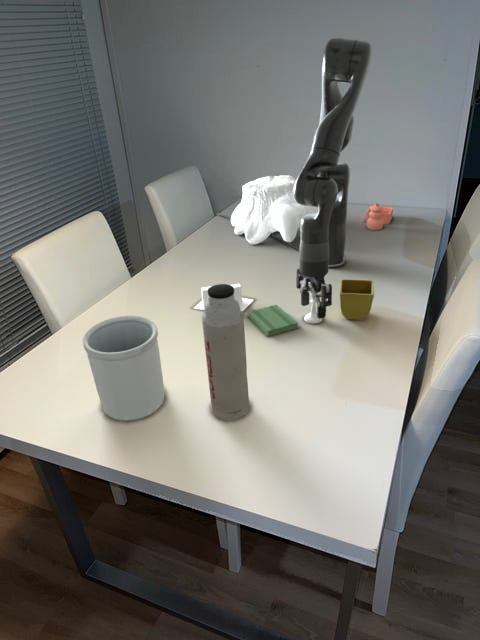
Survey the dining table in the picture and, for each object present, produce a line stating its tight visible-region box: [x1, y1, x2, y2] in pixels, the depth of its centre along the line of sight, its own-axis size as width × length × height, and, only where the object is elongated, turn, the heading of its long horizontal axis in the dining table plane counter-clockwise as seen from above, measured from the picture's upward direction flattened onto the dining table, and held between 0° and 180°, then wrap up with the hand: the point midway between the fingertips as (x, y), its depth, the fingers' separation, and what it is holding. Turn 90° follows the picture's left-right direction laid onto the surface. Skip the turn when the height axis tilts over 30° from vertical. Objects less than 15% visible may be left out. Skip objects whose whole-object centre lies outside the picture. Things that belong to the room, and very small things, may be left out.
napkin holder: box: [193, 283, 254, 313], centre depth 144 cm, size 15×11×6 cm
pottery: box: [365, 202, 394, 231], centre depth 199 cm, size 18×10×10 cm, turn 157°
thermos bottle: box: [201, 283, 250, 421], centre depth 97 cm, size 8×8×28 cm
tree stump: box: [230, 174, 319, 245], centre depth 197 cm, size 40×37×23 cm
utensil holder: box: [82, 315, 165, 422], centre depth 103 cm, size 15×15×18 cm
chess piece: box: [303, 292, 323, 325], centre depth 132 cm, size 5×5×10 cm
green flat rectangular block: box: [247, 304, 299, 337], centre depth 134 cm, size 12×9×2 cm
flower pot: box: [339, 278, 375, 321], centre depth 132 cm, size 9×9×9 cm
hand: (312, 311), depth 133 cm, fingers open, 8 cm apart
